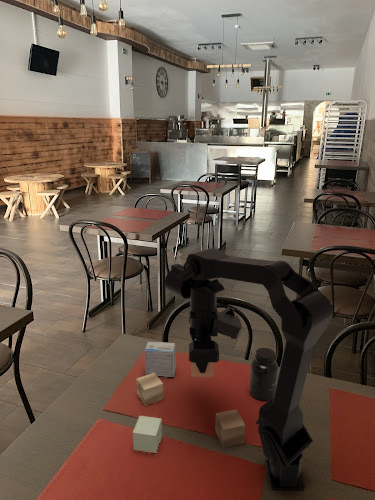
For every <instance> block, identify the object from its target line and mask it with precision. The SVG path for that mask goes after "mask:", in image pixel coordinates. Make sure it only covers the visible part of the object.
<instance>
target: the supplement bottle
mask: <svg viewBox="0 0 375 500" xmlns="http://www.w3.org/2000/svg"><path fill="white" fill-rule="evenodd" d="M278 376H279V365H278V362H277V361H276V353H275V351H274V350H273V349H271V348H268V347H260V348H257V349H256V350H255V355H254V358H253V359H252V360H251V362H250V375H249V393H250V395H251V396H252V397H253V398H255V399H256V400H260V401H269V400H271V399H272V398H273V397H274V394H275V390H276V385H277V380H278Z"/></svg>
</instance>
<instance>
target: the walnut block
mask: <svg viewBox="0 0 375 500" xmlns="http://www.w3.org/2000/svg"><path fill="white" fill-rule="evenodd" d="M215 434H216V436H217V438H218V439H219V442H220V444H221V448H222V449H223V448H228V447H232V446H233V447H234V446H237V445H238V446H239V445H242V444H245V440H246V439H245V438H246V437H245V436H246V435H245V434H246V424H245V422H244V420H243V418H242V416H241V415H240V412H239V411H238V409H232V410H227V411H220V412H216V413H215Z"/></svg>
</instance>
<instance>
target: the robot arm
mask: <svg viewBox="0 0 375 500" xmlns="http://www.w3.org/2000/svg"><path fill="white" fill-rule="evenodd" d="M218 279H225V280H226V279H227V280H233V281H238V282H244V283H250V284H257V285H263V287H264V289H266V290H267V293H268V297H269V301H270V304H271V307H272V308H273V310H274V312H275V313H276V314H277V315H278V317H280V319H281V323H280V330H281V333H282V334H283V337H284V339H285V343H284V344H285V345H284V349H283V353H282V358H281V363H280V368H279V370H278V376H277V385H276V390H275V394H274V397H273V398H272V399H270V400H267V401H266V402H265V403H263V404H262V405H261V406H260V407H259V410H258V418H257V420H256V421H255V424H256V425H258V426H257V431H258V435H259V439H260V443H261V446H262V451H263V455H264V457H266V458H267V459H266V460H265V465H266V466H265V467H266V470H267V476H268V479H269V484H270V488H271V489H272V490H274V491H275V490H279V491H280V490H281V491H282V490H289V491H290V490H291V491H292V490H294V491H295V490H296V491H297V490H299V491H300V490H302V491H303V490H305V489H306V484H305V482H304V478H303V475H302V472H301V469H302V461H303V459H302V458H303V453H304V452H305V451H306V450H307V449H309V448H310V447H311V445H312V444H313V442H314V440H313V438H312V437H311V434H310V433H309V432H308V430H307V428H306V426H305V425H304V423H303V422H304V413H303V411H302V409H301V406H300V404H301V403H300V402H301V400H302V395H303V391H304V387H305V383H306V379H307V376H308V372H309V367H310V364H311V360H312V356H313V351H314V348H315V345H316V343H317V342H318V340H319V339H320V337H321V336H322V335H323V333H324V332H325V330H326V329H327V327H328V326H329V324H330V321H331V319H332V317H333V315H334V306H333V304H332V303H331V301H330V299H329V298H328V297H327V296H326V295H325V294H323V293H322V292H321V291H320V290H319V288H318V287H317V286H316V285H315V284H314V283H313V282H312V281H310V279H308V278H306V277H304V276H303V275H302V274H300V273H298V272H296V271H295V270H294V268H293V267H292V266H291V265H290V264H289V263H288V262H287V261H284V260H266V259H258V258H257V259H256V258H249V257H247V258H246V257H238V256H230V255H227V254H226V252H224V251H222V250H219V249H216V248H214V247H211V248H210V247H209V248H206V249H203V250H198V251H196V252H192V253H190V254H188V255H187V257H186V259H185V263H184V264H183V265H181V264H180V263H175V264H172V265H170V270H169V271H168V273H167V274H166V276H165V278H164V281H163V284H164V287H165V289H166V290H167V291H169V292H170V293H173V294H175V295H177V296H179V297H180V298H183V299H189V301H190V302H189V310H190V311H189V313H188V317H189V318H188V325H189V336H190V338H191V340H192V341H191V342H190V343H188V361H189V362H195V364H196V366H197V368H198V370H199V371H200V373H205V372H206V368H207V365H208V362H214V363H218V362H219V361H220V349H219V344H218V342H216V341H215V340H212V337H218V334H220V335H223V336H226V337H228V338H231V339H232V340H237V338H238V336H239V335H240V332H241V330H242V328H243V326H242V322H241V321H242V320H241V319H240V318H239V316H238V315H236V314H235V309H234V307H230V306H227V307H226V308H224V310H221V311H218V306H217V294H218V293H220V292H222V291H225V287H224V285H223V284H222V283H221V282H220V280H218ZM284 287H286V288H287V289H289V290H291V291H292V292H294V293H296V294H297V295H299V297H296V298H294V299H292V300H291V299H290V298H289V297H288V296H287V294H286V291H285V288H284Z"/></svg>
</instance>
